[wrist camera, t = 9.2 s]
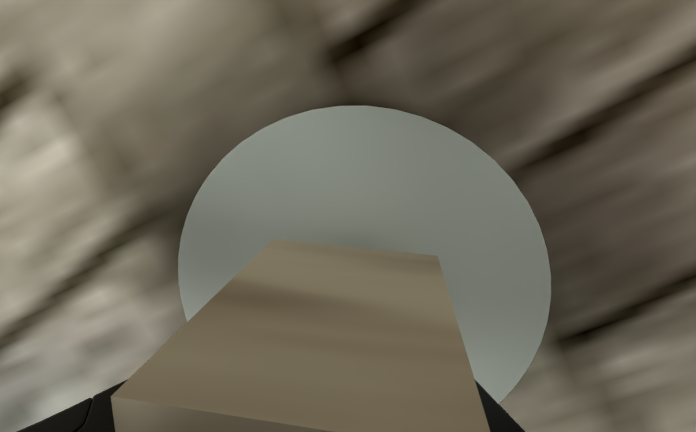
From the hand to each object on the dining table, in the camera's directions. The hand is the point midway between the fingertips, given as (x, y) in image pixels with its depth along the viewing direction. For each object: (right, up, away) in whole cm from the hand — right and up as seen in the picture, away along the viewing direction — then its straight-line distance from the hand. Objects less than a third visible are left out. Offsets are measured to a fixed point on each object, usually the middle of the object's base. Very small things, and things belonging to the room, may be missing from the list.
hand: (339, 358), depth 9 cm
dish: (+1, +1, +4) cm, 4 cm away
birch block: (0, 0, +2) cm, 2 cm away
